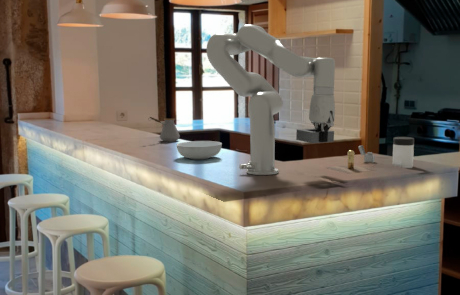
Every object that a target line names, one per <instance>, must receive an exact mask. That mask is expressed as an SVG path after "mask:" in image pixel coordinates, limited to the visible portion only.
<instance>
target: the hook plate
mask: <svg viewBox="0 0 460 295" xmlns="http://www.w3.org/2000/svg"><path fill="white" fill-rule="evenodd" d="M326 169H328V170H333V171H338V172H341V173H346V174H354V173H362V172H371V171H376V169H374V168H369V167H366V166H362V165H361V166H360V165H356V164H354V169H348V164H346V165H337V166H328V167H326Z"/></svg>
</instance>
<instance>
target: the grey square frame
mask: <svg viewBox="0 0 460 295" xmlns="http://www.w3.org/2000/svg"><path fill="white" fill-rule="evenodd" d="M295 134H296V138H295V140H296V141H300V142H305V143H309V144H319V143H320V144H324V143H325V142H320V131H316V130H315V127H314V128H299V129H296V133H295ZM334 140H335V131H334V130H330V129H329V131H328V141H327V142H326V143H334Z"/></svg>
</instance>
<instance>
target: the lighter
mask: <svg viewBox="0 0 460 295" xmlns="http://www.w3.org/2000/svg"><path fill="white" fill-rule="evenodd" d="M358 150H359V153H360V155H361V156H363V159H364V160H363V161H364V163H375V162H376V155H375V154H373V152H372V151H371V152H370V151H368V152H366V151H365V148H364V145H363V144H362V145H359V146H358Z"/></svg>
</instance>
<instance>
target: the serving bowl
mask: <svg viewBox="0 0 460 295" xmlns="http://www.w3.org/2000/svg"><path fill="white" fill-rule="evenodd" d="M222 145H223V143H222V142H220V141H216V140H215V141H212V140H194V141H192V140H191V141H184V142H180V143H177V144H176V149H177V153H179V155H180V156H182V157H184V158H187V159H189V160H195V161H196V160H208V159H210V158H213V157H215V156H217V155H218V154H219V153H220V152H221V150H222V147H223V146H222Z"/></svg>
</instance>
